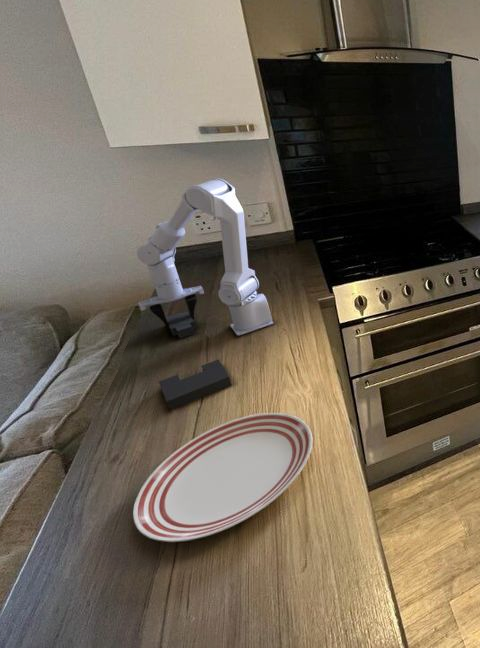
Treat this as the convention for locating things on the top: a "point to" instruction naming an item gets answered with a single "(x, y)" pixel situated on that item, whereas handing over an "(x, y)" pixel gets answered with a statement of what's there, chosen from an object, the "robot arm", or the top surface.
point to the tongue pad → (181, 324)
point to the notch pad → (195, 385)
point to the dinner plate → (222, 477)
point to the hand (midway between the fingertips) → (180, 322)
